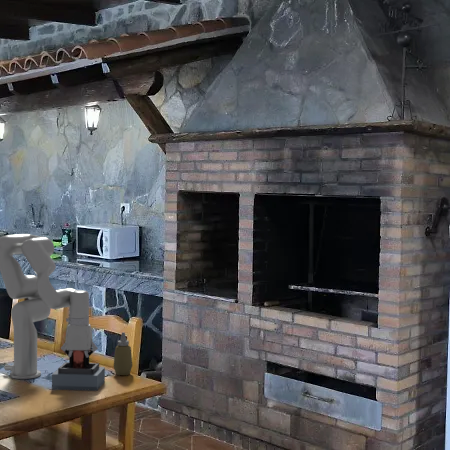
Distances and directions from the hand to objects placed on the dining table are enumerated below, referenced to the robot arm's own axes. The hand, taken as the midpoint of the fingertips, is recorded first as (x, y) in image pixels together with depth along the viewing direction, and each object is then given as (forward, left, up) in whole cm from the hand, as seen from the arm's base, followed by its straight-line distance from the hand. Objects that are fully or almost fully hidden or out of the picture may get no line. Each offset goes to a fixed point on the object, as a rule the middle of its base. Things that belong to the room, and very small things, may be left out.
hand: (79, 366), depth 283 cm
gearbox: (0, 0, -8) cm, 8 cm away
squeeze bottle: (+14, +19, -8) cm, 25 cm away
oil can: (0, 0, -2) cm, 2 cm away
